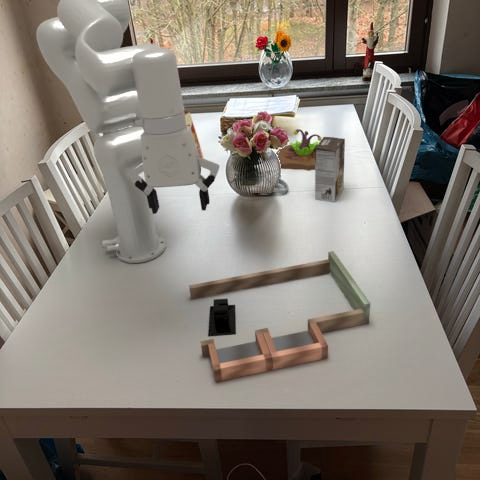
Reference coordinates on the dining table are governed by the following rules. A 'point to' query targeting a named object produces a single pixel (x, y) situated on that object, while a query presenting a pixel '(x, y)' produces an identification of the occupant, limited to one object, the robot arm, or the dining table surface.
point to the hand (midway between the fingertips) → (180, 209)
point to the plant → (299, 153)
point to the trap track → (288, 346)
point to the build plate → (222, 318)
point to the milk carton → (191, 125)
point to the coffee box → (329, 168)
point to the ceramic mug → (279, 189)
